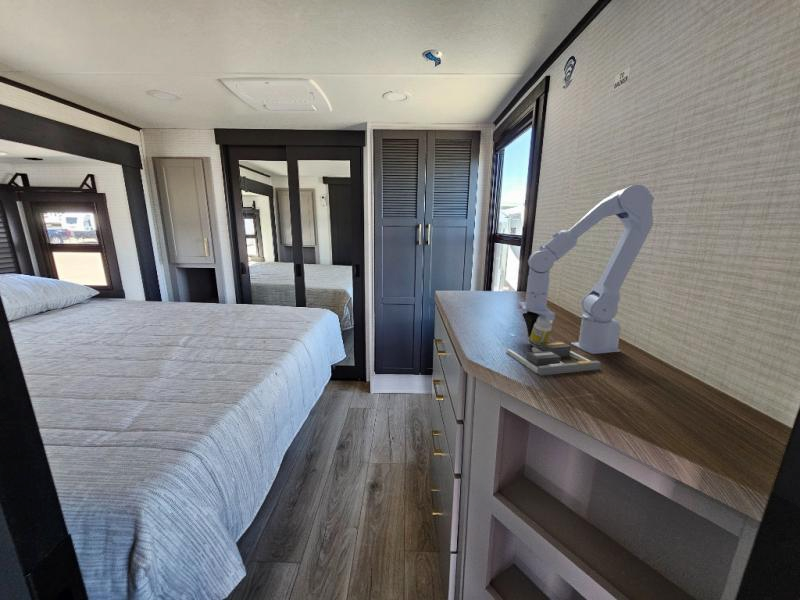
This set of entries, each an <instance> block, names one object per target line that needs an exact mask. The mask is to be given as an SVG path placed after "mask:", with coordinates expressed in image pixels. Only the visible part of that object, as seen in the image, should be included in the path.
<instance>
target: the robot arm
mask: <svg viewBox="0 0 800 600" xmlns="http://www.w3.org/2000/svg"><path fill="white" fill-rule="evenodd" d="M654 200H655V198H654V196H653V195H652V193H651V191H650V190H649V189H648V187H646V186H645V185H643V184H633V185H630V186H628V187H626V188H623V189H618V190H616V191H614V192H612V193H611V194H610V196H606V197H605V198H604V199H603V200H602V201H600V202H598V204H596V205H595V206H594V207H593V208H592V209H590V210H589V212H588V211H587V213H586V214H584V216H583V217H581V219H579V220H578V221H577V222H576V223H575V224H574V225H573V226H572V227H570V228H569V229H568V230H560V231H558V232H557V231H556V232H554V233H553V234H552V238H550V239H549V240H548V241H547V242H546V243H545V244H543V245H540V246H538V249H539V250H537V251H534V252H533V253H531V254H530V255H529V258H528V259H527V264H528V267H529V270H528V275H527V284H526V292H525V293H526V295H525V302H524V301H518V303H517V309H521V310H522V311H526V312H523V313H522V318H523V320H524V321H525V324H526V329H527V336H528V338H530V336H531V332H532V329H533V326H534V323H535V322H536V321H537V318H538V317H539V316H541V317H544V318H546V320H552V321H554V320H555V318H556V313H555V312H554V311H551V310H550V309H549V308H548V307H547V304H548V303H547V302H548V297H549V296H548V295H549V285H550V272H551V269H553V267H554V265H555V262H558V261H559V260H560V259H562V257H564V256H565V255H566V254H568V253H569V252H570V251H571V250H572V249H574V248H575V247H576V246H577V242H578V239H579V237H581V236H583V235H584V234H585V233H587V232H588V231H589V230H590V229H591V228H593V227H594V226H596V225H597V224H599V222H601V221H602V220H603V219H605V218H608V217H611V216H616V217H618V218H619V219H620V221H621V223H622V224H623V226H624V230H623V232H622V234H621V236H620V238H619V240H618V243H617V244H616V246H615V248H614V250H613V252H612V255H611V256H610V258H609V261H608V262H607V265H606V266H605V268H604V270H603V273H602V274H601V276H600V278H599V281H598V282H597V283H596V284H595V285H593V286H592V288H591V289H590V291H589V292H588V293H587V294H586V295H584V296H583V298H582V300H581V307H582V309H583V310H584V312H583V313H582V315H581V323H580V328H579V337H578V342H577V341H575V342H571V343H570V345H572V346H574V347H576V348H578V349H580V350H583V351H584V352H587V353H589V354H590V355H591V354H592V355H596V354H607V353H609V354H610V353H619V352H620V351H621V350H620V349H619V344H620V343H619V342H620V341H619V340H620V335H621V330H622V329H621V324H620V322H618V320H616V319H615V317H616V315H617V314H618V311H619V310H618V307H619V306H618V304H619V302H620V300H621V292H620V289H621V287H622V285H623V283H624V281H625V280H626V277H627V275H628V274H629V272H630V271H631V268H632V266H633V264H634V263H635V260H636V258H637V256H638V254H639V253H640V251H641V249H642V247H643V245H644V243H645V241H646V239H647V238H648V235H649V234H650V232H651V230H652V228H653V225H654V217H653V203H654Z"/></svg>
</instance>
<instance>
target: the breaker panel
mask: <svg viewBox="0 0 800 600" xmlns="http://www.w3.org/2000/svg"><path fill="white" fill-rule="evenodd" d="M531 351H532V352H540V351H541V350H539V348H538V347H535V346H533V347H532V348H531ZM506 354H508V355H509V356H511V357H512V358H513V359H515V360H517V361H518V363H519V362H520V364H522V365H524V366H525V367H527V368H528V369H529V370H532V372H534V373H535V374H537V375H538V376H548V375H558V374H559V375H560V374H566V373H579V372H586V371H596V370H600V369H601V361H599V360H591V359H588V358H587V357H585V356H582V355H580V354H578V353H576V352H574V351H573V350H570V356H569V357H570V358H571V357H572V358H573V359H575V360H577V361H576V362H569V363H564V362H563V361H561V360H560V363H558V364H548V365H546V366H538V367H536V366H535V365H533V364H532V363H530V362H529V361H527V358H525V357H523V356H521V355H520V354H518V353H516V352H515V351H514V350H512V349H511V348H507V349H506Z"/></svg>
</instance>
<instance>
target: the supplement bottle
mask: <svg viewBox="0 0 800 600" xmlns="http://www.w3.org/2000/svg"><path fill="white" fill-rule="evenodd" d="M553 321H554V320H546V318H544V317H541V316H539V317H538V318H537V321H536V322H535V323H534V326H533V329H532V332H531V336H530V337H529V341H528V342H529V344H530V345H531V346H533V347H536V348H537V349H539V347H540V343H543V342H549V338H550V335H551V332H552V330H553V329H552V328H553V327H552V325H553Z"/></svg>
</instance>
